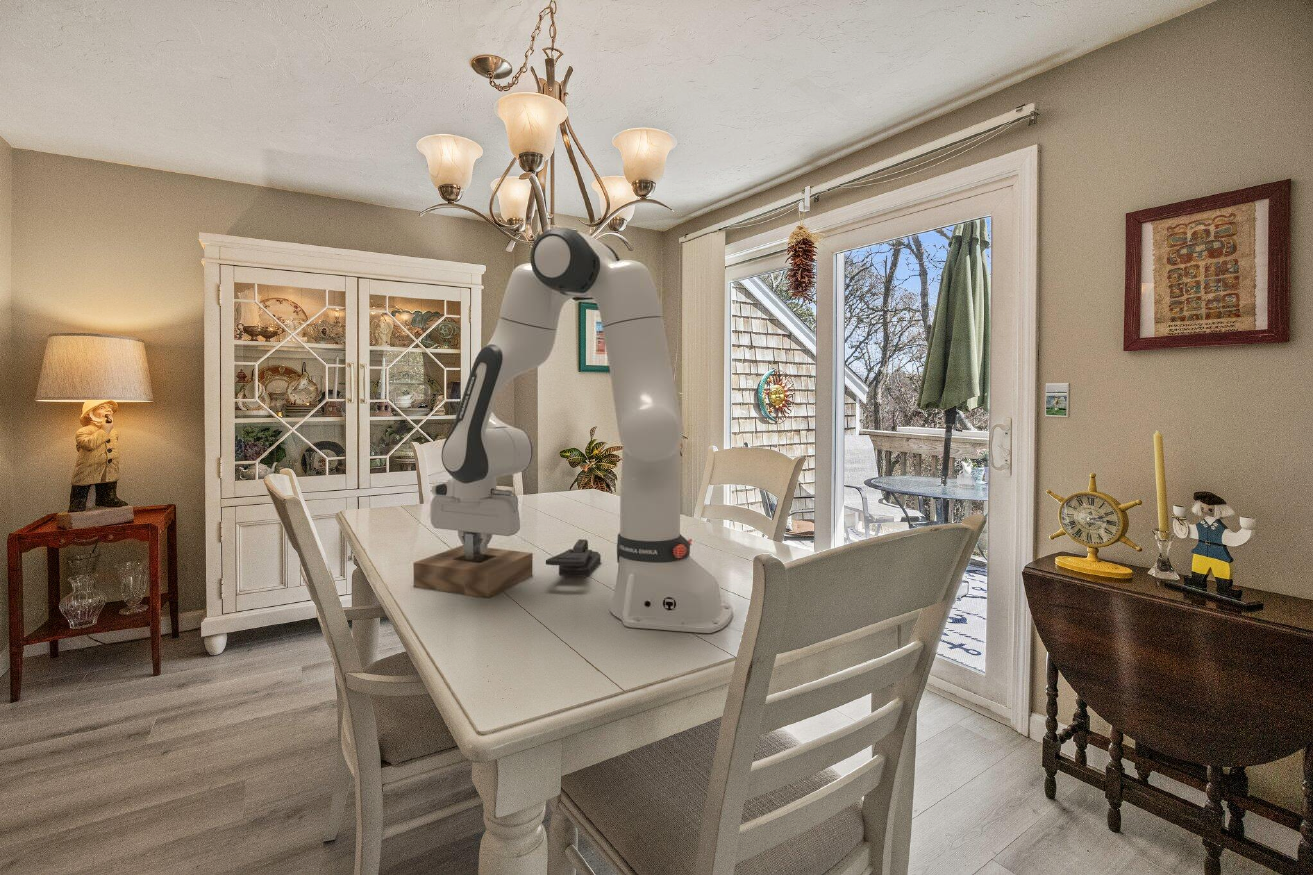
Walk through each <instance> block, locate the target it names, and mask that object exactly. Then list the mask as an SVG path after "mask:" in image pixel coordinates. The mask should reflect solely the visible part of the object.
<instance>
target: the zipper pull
mask: <svg viewBox="0 0 1313 875" xmlns="http://www.w3.org/2000/svg"><path fill="white" fill-rule="evenodd" d="M601 561H602V560H601V553H599V552H598V551H593V550H592V549H589V541H588V539H578V540H576V542H575V544H574V545H573V548H571V549H570V548H569V549H567V550H566V551H563V552H561V553H559V554H557V555H555V556H552V557H549V558H548V559H546V560H545V565H547V566H558V576H560V577H565V578H571V579H572V578H577V579H579V578H585V577H589V576H591V575H592V573H594V571H595V570H596V569H597V568H598V567H599V566H600V565H601Z"/></svg>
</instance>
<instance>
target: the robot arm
mask: <svg viewBox="0 0 1313 875" xmlns="http://www.w3.org/2000/svg"><path fill="white" fill-rule="evenodd" d="M529 258H530V262H528V263H527V262H526V263H522V264H520V265H518V266H516V267H515V268H514V269H513V271H512V273H511V275H510V277H509V279H508V282H507V285H506V288H505V291H504V294H503V298H502V302H501V306H500V309H499V315H498V316H499V317H498V320H497V324H496V327H495V330H494V332H493V335H492V337H491V338H490V340H489V342H488V343H487V344H486V346H485V347H483V348H481V349H480V351H479V352H478V354H477V356H476V358H475V360H474V362H473V365H472V367H471V370H470V373H469V376H468V379H467V382H466V385H465V389H464V391H463V394H462V397H461V401H460V404H459V406H458V409H457V413H456V416H455V418H454V421H453V422H454V423H453V424H452V427H451V428H450V431H449V432H448V434H447V437H446V439H445V440H444V443H443V444H442V449H441V462H442V465H443V467H444V469H445V470H446V472H447V473H448V474H449V475H450V476H451V478H452V479H448V480H445V481H443V482H441V483H437V484H434V485H432V487H431V493H432V495H433V497H432V499H431V501H430V502H431V503H430V523H431V524H430V525H432V527H433V528H434V529H439V530H448V531H455V532H457V536H458V538H459V540H460V542H461V544H462V545H463V552H465V534H466V533H469V532H474V533H481V538H483V540H482V542H481V544H480V545H477V554H486V553H487V548H488V545H489V544H490V541H491V540H492V538H493V536H503V537H511V536H513V535H516V534H518V533H519V532H520V529H521V519H520V511H519V497H518V496H517V494H516V493H514V492H513V490H510V489H505V490H504V489H499V488H497V483H498V482H497V478H501V477H505V476H510V475H511V476H512V475H517V474H520V473H522V472H524V471H525V470H527V468H529V466H530V465H531V463H532V459H533V454H534V453H533V452H534V451H533V449H534V448H533V444H532V440H531V438H530V436H529V434H528V433H527V432H525V431H524V430H523V429H521V428H516V427H514V426H511V425H509V424H507V423H505V422H503V421H502V420H500V419H499V418H498V417H497V416H496V415H495V413H494V412H493V410H494V407H495V403H496V400H497V397H498V394H499V393H500V391H501V390H502V388H503V387H504V385H506V384H507V383H508V382H509V381H512V380H513V379H514V378H516V377H518V376H520V375H523V374H524V373H527V372H530V371H533V370H535V369H537V368H538V367H540V366H541V365H543V364H544V363H545V362H547V360H548V359H549V358H550V355H551V353H552V352H553V349H554V345H555V343H556V338H557V332H558V331H557V330H558V325H559V320H560V315H561V312H562V308H563V307H564V305H565V303H567V301H569V300H571V299H572V300H574V302H575V301H576V302H579V301H587V300H588V301H589V300H591V301H592V300H594V302H595V303H596V305H597V307H598V312H599V316H600V322H601V328H602V333H603V339H604V340H603V341H604V346H605V350H606V355H607V361H608V367H609V373H610V374H609V375H610V380H611V388H612V395H613V402H614V403H613V404H614V409H615V416H616V424H617V429H618V430H617V431H618V436H619V441H620V444H621V446H622V452H621V453H622V454H621V455H622V456H621V473H620V474H621V477H620V478H621V479H620V492H619V493H620V496H619V498H620V499H619V501H620V502H619V514H620V515H619V533H618V534H617V540H616V541H617V542H616V561H617V563H618V564H617V565H618V566H617V576H616V582H615V588H614V591H613V592H614V593H613V598H612V601H611V603H610V607H609V611H610V612H611V614H612V615H613V616H615V617H616V618H618V619H619V620H621V622H622V624H623V625H624V626H625V627H627V628H635V629H650V630H662V631H663V630H664V631H675V632H689V633H701V634H711V633H715V632H717V631H720V630H722V629H723V628H725V627H726V626H727V625H728V624H729V623H730V622H731V620H732V618H733V607H732V605H731V604H729V602H726V601H722V600H721V599H722V598H721V591H720V586H719V582H718V580H717V578H716V577H715V576H714V575H712V574H711V573H710V572H709V571H708V570H706V569H705V568H704V567H703V566H702V565H701V564H699V563H698V562H697V561H696V560H695V559H694V558H693V557H691V556H690V554H691V546H692V544H693V543H692V542H693V541H692V540H693V539H692V538H689V539H688V540H687V539H686V538H685V537H684V536H683V535H682V534H681V491H682V490H681V444H682V441H683V437H684V428H683V420H682V415H681V410H680V404H679V399H678V393H677V389H676V384H675V379H674V373H673V369H672V368H673V367H672V363H671V357H670V352H669V345H668V339H667V336H666V335H667V334H666V329H665V322H664V317H663V312H662V307H661V303H660V298H659V296H658V293H657V288H656V286H655V283H654V279H653V278H652V274H651V273H650V270H649V269H648V266H646V265H645V264H643V263H642V262H639V261H637V260H632V259H621V258H620V257H619V255H618V254H617V252H615V250H614V249H613V248H612V247H610V246H609V245H608V244H606V243H603V242H601V241H599V240H597V239H596V238H595V237H594V236H591V235H589V234H587V233H583V232H580V231H576V230H574V229H572V228H569V227H567V228H566V227H554V228H550V229H548V230H545V231H544V232H542V233H541V234H539V235H538V236H537V237H536V239H535V240H534V242H533V244H532V247H531V249H530V257H529Z"/></svg>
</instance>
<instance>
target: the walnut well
mask: <svg viewBox="0 0 1313 875" xmlns="http://www.w3.org/2000/svg"><path fill="white" fill-rule="evenodd" d="M533 568H534V567H533V552H527V551H518V550H512V549H511V550H510V549H502V548H495V547H494V548H493V547H487V553H486V554H485V561H484V562H482V563H475V562H468V561H465V552H463V544H462V545H460V546H456V547H454V548H451V549H448V550H445V551H441V552H439V553H436V554H433V555H430V556H429V557H425V558H422V559H420V560H417V561H414V562H413V587H414V586H415V587H414V588H420V589H426V588H427V590H433V591H438V590H440V591H441V592H445V593H453V594H457V595H459V594H460V595H464V596H465V595H466V596H472V597H477V598H478V597H479V598H484V599H489V598H492V597H494V596H495V595H497V594H499V593H501V592H504V591H505V590H508V589H509V588H512V587H513V586H515V585H517V584H519V583H521V582H523V581H525V580H526V579H528V578H530V577H533V571H534V570H533ZM440 591H439V592H440Z"/></svg>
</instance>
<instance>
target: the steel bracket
mask: <svg viewBox="0 0 1313 875" xmlns="http://www.w3.org/2000/svg"><path fill="white" fill-rule="evenodd" d="M482 540H483V538H481V533H474V532H469V533H466V534H465V561H468V562H475V563H482V562H484V561H485V554H477V545H480V544H481V542H482Z"/></svg>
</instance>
